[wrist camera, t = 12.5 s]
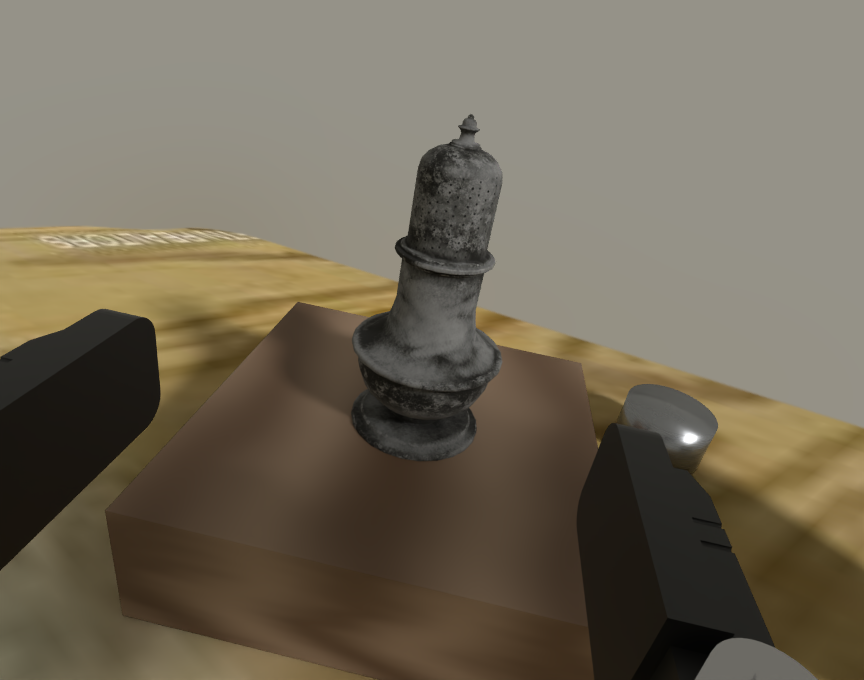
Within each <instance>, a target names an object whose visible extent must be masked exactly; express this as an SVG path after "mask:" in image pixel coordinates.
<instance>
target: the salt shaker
mask: <svg viewBox="0 0 864 680" xmlns="http://www.w3.org/2000/svg"><path fill="white" fill-rule="evenodd" d="M476 126H477V122H476V120H474V116H473V115H472V114H471V115H469V116H468V118H467V119H464V121H463V124H462V125H459V126H458V127H459V128H460V130H461V135H460V138H459V139H454V140H452V142H450V144H443V145H439V146H437V147H435V148H433V149H430V150H429V151H428V152H427V153H426V154H425V155H424V156H423V157H422V159H421V161H420V164H419V166H418V171H417V178H416V185H415V191H414V198H413V205H412V211H411V218H410V225H409V231H408V236H406V237H403V238H401V239H400V240H398V241H397V242H396V245H395V250H396V252H397V254H398V255H399V256H400V257H401V258H402V263H401V270H400V277H399V283H398V290H397V296H396V299H395V301H394V304H393V306H392V308H391V310H390V311H389V312H385V313H381V314H377V315H374V316H372V317H370V318H368V319H366V320H364V321H363V322H362V323H361V324H360V325H359V326H358V327H357V328H356V329H355V331H354V334H353V337H352V344H353V349H354V352H355V353H356V354H357V356H358V363H359V367H360V371H361V374H362V377H363V380H364V383H365V385H366V387H367V388H368V389H366V390H365V391H363V392H362V393H360V394H359V396H358V397H357V398H356V400H355V401H354V403H353V407H352V411H351V416H352V422H353V425H354V427H355V429H356V430H357V432H358V434H359V435H360V436H361V437H362V438H363V439H364V440H365V441H366V442H368V443H369V444H370V445H371V446H373V447H375V448H377V449H378V450H380V451H382V452H384V453H386V454H389V455H392V456H395V457H398V458H401V459H407V460H414V461H438V460H442V459H446V458H451V457H454V456H455V455H457V454H459V453H461V452H463V451H465V450H466V449H467V448H468V447H469V445H470V444H471V443H472V442H473V440H474V437H475V434H476V431H477V427H476V419H475V417H474V415H473V413H472V411H471V409H470V408H469V407H470V406H471V405H472V404H473V403H474V402H475V401H476V400H477V399H478V398H479V397H480V395H481V394H482V393H483V392H484V391H485V389H486V387H487V384H488V382H490V381H491V380H492V379H493V378H494V377H495V376H496V375H497V374H498V373H499V371H500V368H501V365H502V357H501V352H500V350H499V349H498V347H497V346H496V344H495V343H494V341H493V340H492V339H491V338H489V337H488V336H487V335H486V334H485V333H484V332H482V331H481V330H479V329H477V328H476V324H475V313H476V306H477V301H478V297H479V293H480V289H481V284H482V280H483V275H484V273H486V272H487V271H489V270H491V269H492V268H493V267H494V265H495V259H494V257H493V256H492V254H491V253H490V252H488V250H487V247H488V243H489V239H490V235H491V230H492V226H493V221H494V216H495V212H496V208H497V204H498V199H499V194H500V190H501V186H502V171H501V169H500V167H499V164H498V162H497V161H496V160H495V159H494V158H493V157H492V156H491V155H490V154H489V153H487V152H485V151H483V150H481V147H480V145H479V144H478V143H475V142H474V135H475V133H476V132H478V131H479V130H480V129H478V128H477V127H476Z"/></svg>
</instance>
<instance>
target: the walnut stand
mask: <svg viewBox="0 0 864 680" xmlns="http://www.w3.org/2000/svg"><path fill="white" fill-rule="evenodd" d="M368 318H370V317H365V316H360V315H356V314H351V313H347V312H342V311H337V310H333V309H328V308H324V307H319V306H314V305H310V304H305V303H300V302H297V303H296V304H295V306H294V307H293V308H292V309H291V310H290V311H289V312H288V313H287V314H286V315H285V316H284V317H283V319H282V320H281V321H280V322H279V323H278V324H277V325H276V326H275V327H274V328H273V329H272V330H271V332H270V333H269V334H268V335H267V336H266V337H265V338H264V339H263V340H262V341H261V342H260V343H259V345H258V346H257V347H256V348H255V349H254V350H253V351H252V352H251V353H250V354H249V355H248V356H247V358H246V359H245V360H244V361H243V362H242V363H241V364H240V365H239V366H238V367H237V368H236V369H235V371H234V372H233V373H232V374H231V375H230V376H229V377H228V378H227V379H226V380H225V381H224V382H223V383H222V385H221V386H220V387H219V388H218V389H217V390H216V391H215V392H214V393H213V394H212V395H211V396H210V398H209V399H208V400H207V401H206V402H205V403H204V404H203V405H202V406H201V407H200V408H199V409H198V411H197V412H196V413H195V414H194V415H193V416H192V417H191V418H190V419H189V420H188V421H187V422H186V424H185V425H184V426H183V427H182V428H181V429H180V430H179V431H178V432H177V433H176V434H175V435H174V437H173V438H172V439H171V440H170V441H169V442H168V443H167V444H166V445H165V446H164V447H163V448H162V450H161V451H160V452H159V453H158V454H157V455H156V456H155V457H154V458H153V459H152V460H151V461H150V463H149V464H148V465H147V466H146V467H145V468H144V469H143V470H142V471H141V472H140V473H139V474H138V475H137V477H136V478H135V479H134V480H133V481H132V482H131V483H130V484H129V485H128V486H127V487H126V488H125V490H124V491H123V492H122V493H121V494H120V495H119V496H118V497H117V498H116V499H115V500H114V501H113V503H112V504H111V505H110V506H109V507H108V508H107V509H106V510H105V513H106V519H107V525H108V531H109V537H110V543H111V549H112V555H113V561H114V567H115V573H116V579H117V585H118V590H119V596H120V602H121V608H122V614H123V615H124V616H128V617H132V618H136V619H140V620H144V621H148V622H152V623H156V624H160V625H164V626H168V627H172V628H176V629H180V630H184V631H188V632H192V633H196V634H200V635H204V636H208V637H212V638H216V639H220V640H224V641H228V642H232V643H236V644H240V645H244V646H248V647H252V648H256V649H260V650H264V651H268V652H272V653H276V654H280V655H284V656H288V657H292V658H296V659H300V660H304V661H308V662H311V663H315V664H319V665H323V666H327V667H331V668H335V669H339V670H343V671H347V672H351V673H355V674H359V675H363V676H367V677H371V678H375V679H379V680H594V673H593V664H592V655H591V647H590V638H589V630H588V621H587V613H586V604H585V595H584V587H583V578H582V570H581V561H580V553H579V544H578V535H577V509H578V503H579V499H580V495H581V492H582V489H583V486H584V484H585V481H586V479H587V476H588V474H589V471H590V469H591V466H592V464H593V461H594V459H595V456H596V454H597V451H598V446H597V441H596V435H595V430H594V425H593V420H592V415H591V410H590V405H589V400H588V395H587V390H586V385H585V380H584V375H583V370H582V365H581V363H578V362H573V361H569V360H564V359H559V358H555V357H550V356H545V355H541V354H536V353H532V352H527V351H522V350H518V349H513V348H508V347H504V346H499V345H496V346H497V347H498V349H499V350H500V352H501V357H502V365H501V368H500V371H499V373H498V374H497V375H496V376H495V377H494V378H493V379H492V380H491V381H490V382H488V384H487V387H486V389H485V391H484V392H483V393H482V394H481V395H480V397H479V398H478V399H477V400H476V401H475V402H474V403H473V404H472V405H471V406H470V407H469V408H470V409H471V411H472V413H473V415H474V417H475V419H476V427H477V431H476V434H475V437H474V440H473V442H472V443H471V444H470V445H469V447H468V448H467V449H466V450H465V451H463V452H461V453H459V454H457V455H455V456H454V457H451V458H446V459H442V460H438V461H414V460H407V459H401V458H398V457H395V456H392V455H389V454H386V453H384V452H382V451H380V450H378V449H377V448H375V447H373V446H371V445H370V444H369V443H368V442H366V441H365V440H364V439H363V438H362V437H361V436H360V435H359V434H358V432H357V430H356V429H355V427H354V425H353V422H352V416H351V411H352V407H353V403H354V401H355V400H356V398H357V397H358V396H359V394H360V393H362V392H363V391H365V390H366V389H368V388H367V387H366V385H365V383H364V380H363V377H362V374H361V371H360V367H359V363H358V356H357V354H356V353H355V352H354V349H353V344H352V337H353V334H354V331H355V329H356V328H357V327H358V326H359V325H360V324H361V323H362V322H363V321H364V320H366V319H368Z"/></svg>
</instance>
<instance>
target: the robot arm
mask: <svg viewBox="0 0 864 680" xmlns="http://www.w3.org/2000/svg"><path fill="white" fill-rule="evenodd" d="M159 402H160V381H159V370H158V358H157V347H156V336H155V329H154V326H153V324H152V322H151V321H150V320H149V319H147V318H144V317H139V316H135V315H130V314H126V313H121V312H117V311H112V310H108V309H100V310H97V311H95V312H93V313H91V314H90V315H88V316H86V317H85V318H83V319H81V320H79V321H78V322H76V323H74V324H73V325H71V326H69V327H68V328H66V329H64V330H61V331H58V332H55V333H52V334H48V335H45V336H42V337H39V338H36V339H33V340H29V341H28V342H26V343H24V344H22V345H21V346H19V347H17V348H15V349H13V350H12V351H10V352H8V353H6V354H5V355H3V356H1V359H0V570H1V569H2V568H3V567H4V566H6V565H7V564H8V563H9V562H10V561H11V560H12V559H13V558H14V557H15V556H16V555H17V554H18V553H19V552H20V551H21V550H22V549H23V548H24V547H25V546H26V545H27V544H28V543H29V542H30V541H31V540H32V539H33V538H34V537H35V536H36V535H37V534H38V533H39V532H40V531H41V530H42V529H43V528H44V527H45V526H46V525H47V524H48V523H50V522H51V521H52V520H53V519H54V518H55V517H56V516H57V515H58V514H59V513H60V512H61V511H62V510H63V509H64V508H65V507H66V506H67V505H68V504H69V503H70V502H71V501H72V500H73V499H74V498H75V497H76V496H77V495H78V494H79V493H80V492H81V491H82V490H83V489H84V488H85V487H86V486H87V485H88V484H89V483H90V482H91V481H92V480H94V479H95V478H96V477H97V476H98V475H99V474H100V473H101V472H102V471H103V470H104V469H105V468H106V467H107V466H108V465H109V464H110V463H111V462H112V461H113V460H114V459H115V458H116V457H117V456H118V455H119V454H120V453H121V452H122V451H123V450H124V449H125V448H126V447H127V446H128V445H129V444H130V443H131V442H132V441H133V440H134V439H135V438H136V437H138V436H139V435H140V434H141V433H142V432H143V431H144V430H145V429H146V428H147V427H148V425H149V424H150V423H151V421H152V420H153V418H154V416H155V414H156V412H157V409H158V406H159ZM721 525H722V523H721V521H720V518H719V516H718V514H717V511H716V509H715V507H714V504H713V502H712V500H711V497H710V496H709V495H708V494H707V492H706V491H705V490H704V489H703V488H702V487H701V486H700V485H699V483H698V482H697V481H696V480H695V479H694V478H693V477H692V476H691V474H690V473H689V472H688V471H687V470H682V469H678V468H673V465H672V463H671V460H670V457H669V455H668V452H667V449H666V447H665V444H664V441H663V439H662V437H661V435H660V434H659V433H656V432H652V431H647V430H643V429H638V428H634V427H629V426H625V425H620V424H616V423H612V424H610V425H609V427H608V428H607V430H606V431H605V434H604V436H603V439H602V441H601V444H600V446H599V449H598V451H597V454H596V456H595V459H594V461H593V464H592V466H591V469H590V471H589V474H588V476H587V479H586V481H585V484H584V486H583V489H582V492H581V495H580V499H579V503H578V509H577V535H578V544H579V553H580V561H581V570H582V578H583V587H584V595H585V604H586V613H587V621H588V630H589V638H590V647H591V655H592V664H593V673H594V680H818V679H817V678H816V677H815V676H814V675H812V674H811V673H810V672H809V671H808V670H807V669H806V668H805V667H803V666H802V665H801V664H800V663H798V662H797V661H796V660H794V659H793V658H791V657H790V656H788V655H787V654H785V653H783V652H782V651H780V650H778V649H776V648H775V646H774V644H773V641H772V639H771V637H770V634H769V632H768V630H767V627H766V625H765V623H764V620H763V618H762V616H761V613H760V611H759V609H758V606H757V604H756V602H755V599H754V597H753V595H752V593H751V590H750V588H749V586H748V583H747V581H746V579H745V576H744V574H743V572H742V569H741V567H740V565H739V562H738V560H737V558H736V555H735V553H732V552H731V549H732V546H731V544H730V542H729V539H728V537H727V535H726V532H725V530H724V529H721Z"/></svg>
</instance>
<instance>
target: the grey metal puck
mask: <svg viewBox="0 0 864 680" xmlns="http://www.w3.org/2000/svg"><path fill="white" fill-rule="evenodd" d="M616 424H620V425H625V426H629V427H634V428H638V429H643V430H647V431H652V432H656V433H659V434H660V435H661V437H662V439H663V441H664V444H665V447H666V449H667V452H668V455H669V457H670V460H671V463H672V465H673V468H678V469H682V470H687V471H688V472H689V473H690V474H693V473H694V472H695V471H696V469H697V467H698V465H699V464H700V462H701V460H702V458H703V456H704V454H705V452H706V450H707V448H708V446H709V444H710V442H711V441H712V439H713V437H714V435H715V433H716V431H717V429H718V423H717V420H716V418H715V416H714V415H713V414H712V412H711V411H710V410H709V409H708V408H707V407H705V406H704V405H703V404H702V403H700V402H699V401H697V400H696V399H694V398H692V397H691V396H689V395H687V394H685V393H682V392H680V391H678V390H675V389H672V388H669V387H665V386H660V385H654V384H642V385H637V386H634V387H633V388H631V389H630V391H629V393H628V395H627V398H626V400H625V403H624V405H623V407H622V410H621V412H620V415H619V417H618V420H617V422H616Z"/></svg>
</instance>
